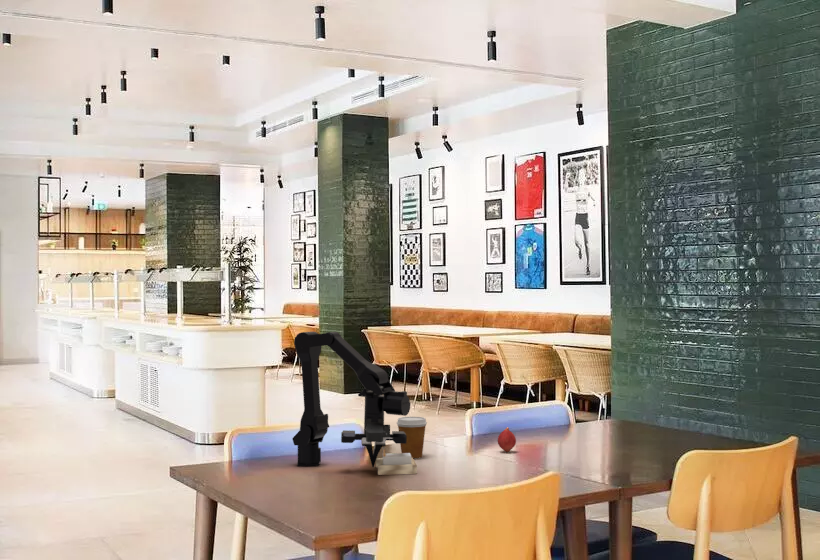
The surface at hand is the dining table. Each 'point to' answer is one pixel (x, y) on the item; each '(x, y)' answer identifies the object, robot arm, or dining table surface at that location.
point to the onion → (506, 440)
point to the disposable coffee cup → (413, 435)
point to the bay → (395, 468)
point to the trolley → (396, 458)
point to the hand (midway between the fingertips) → (372, 466)
